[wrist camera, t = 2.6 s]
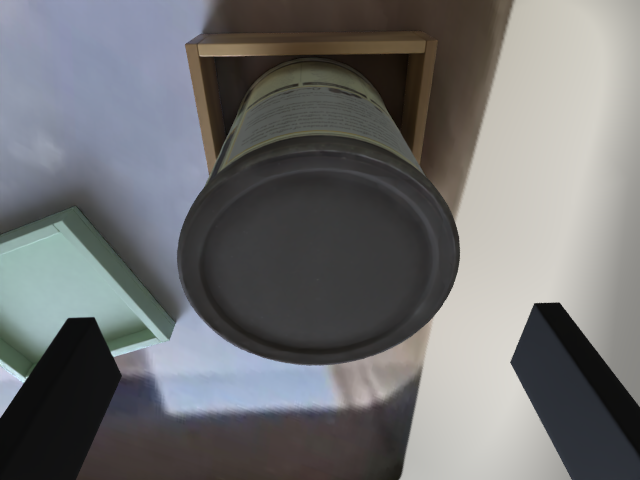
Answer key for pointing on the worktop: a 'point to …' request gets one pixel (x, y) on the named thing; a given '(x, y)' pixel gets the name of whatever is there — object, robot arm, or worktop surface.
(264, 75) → the coffee can
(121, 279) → the tray
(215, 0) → the worktop surface
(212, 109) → the can stand
